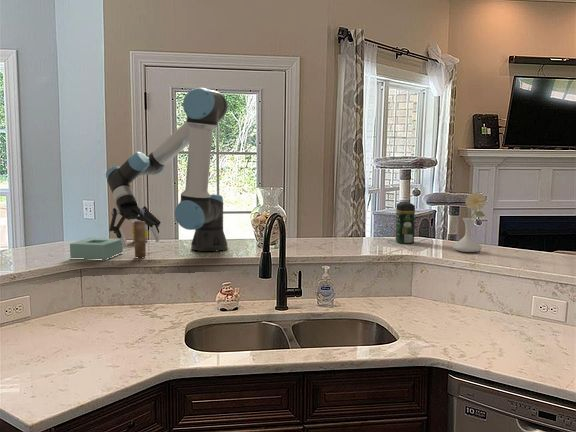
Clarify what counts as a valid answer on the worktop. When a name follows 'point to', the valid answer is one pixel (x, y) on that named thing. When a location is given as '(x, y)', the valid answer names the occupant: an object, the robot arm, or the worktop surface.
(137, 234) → the dowel
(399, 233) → the coffee jar
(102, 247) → the socket block
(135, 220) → the supplement bottle
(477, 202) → the flower in vase
